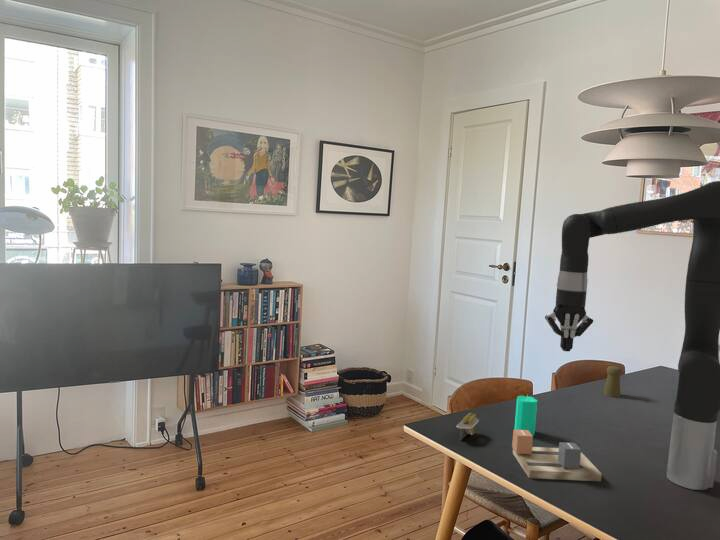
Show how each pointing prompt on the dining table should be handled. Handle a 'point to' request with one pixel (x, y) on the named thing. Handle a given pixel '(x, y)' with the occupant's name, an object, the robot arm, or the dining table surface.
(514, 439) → the block
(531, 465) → the panel
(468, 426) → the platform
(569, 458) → the fader
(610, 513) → the dining table surface
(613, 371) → the cork
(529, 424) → the candle
